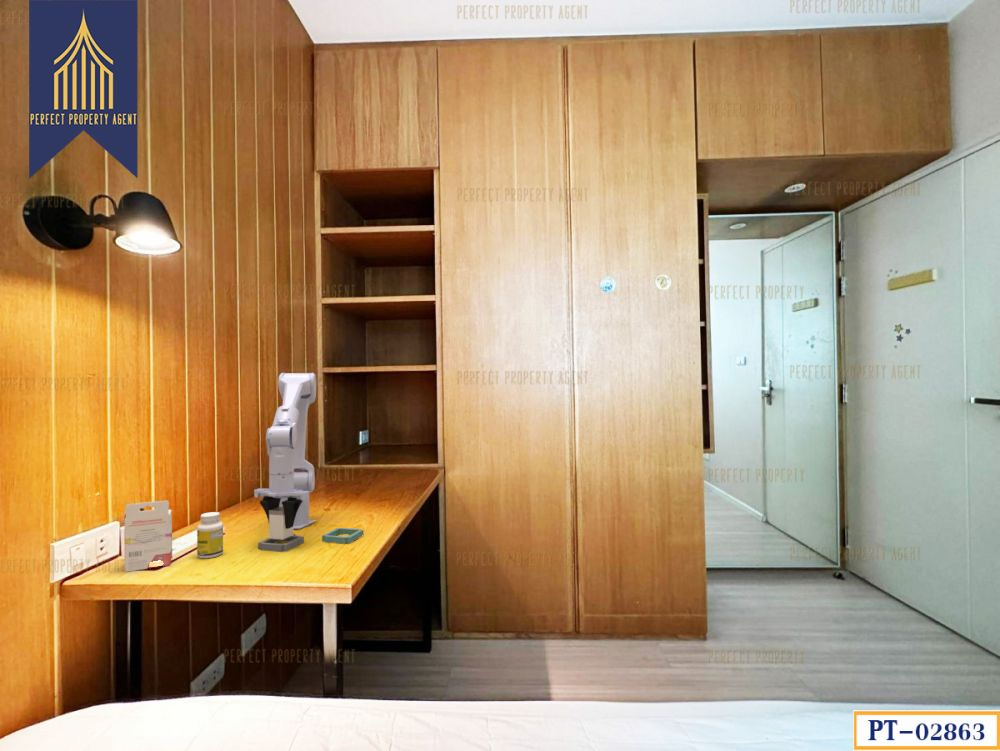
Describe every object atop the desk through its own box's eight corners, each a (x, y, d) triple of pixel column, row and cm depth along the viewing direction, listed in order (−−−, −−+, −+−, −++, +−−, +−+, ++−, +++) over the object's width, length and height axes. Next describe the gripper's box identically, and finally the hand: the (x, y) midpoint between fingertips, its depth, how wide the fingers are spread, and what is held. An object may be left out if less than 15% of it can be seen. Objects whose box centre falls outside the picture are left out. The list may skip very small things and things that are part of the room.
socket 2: (320, 541, 131) (320, 536, 131) (337, 532, 139) (337, 527, 139) (348, 544, 129) (348, 538, 129) (364, 534, 137) (364, 529, 137)
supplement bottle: (192, 556, 121) (192, 514, 121) (216, 549, 125) (216, 510, 125) (204, 560, 118) (204, 518, 118) (227, 554, 122) (227, 513, 122)
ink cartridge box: (172, 559, 119) (173, 495, 119) (170, 566, 114) (170, 500, 114) (127, 565, 115) (128, 500, 115) (123, 572, 110) (123, 504, 110)
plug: (268, 538, 127) (269, 510, 127) (279, 533, 131) (279, 506, 131) (283, 539, 126) (283, 511, 126) (293, 534, 130) (293, 507, 130)
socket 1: (256, 549, 125) (256, 543, 125) (278, 539, 133) (278, 533, 133) (284, 551, 123) (284, 545, 123) (304, 541, 131) (305, 536, 131)
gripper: (245, 474, 126) (245, 529, 126) (296, 477, 123) (296, 533, 123) (265, 469, 133) (264, 521, 133) (314, 472, 130) (314, 525, 130)
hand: (281, 526), depth 128 cm, fingers closed on plug, 4 cm apart
